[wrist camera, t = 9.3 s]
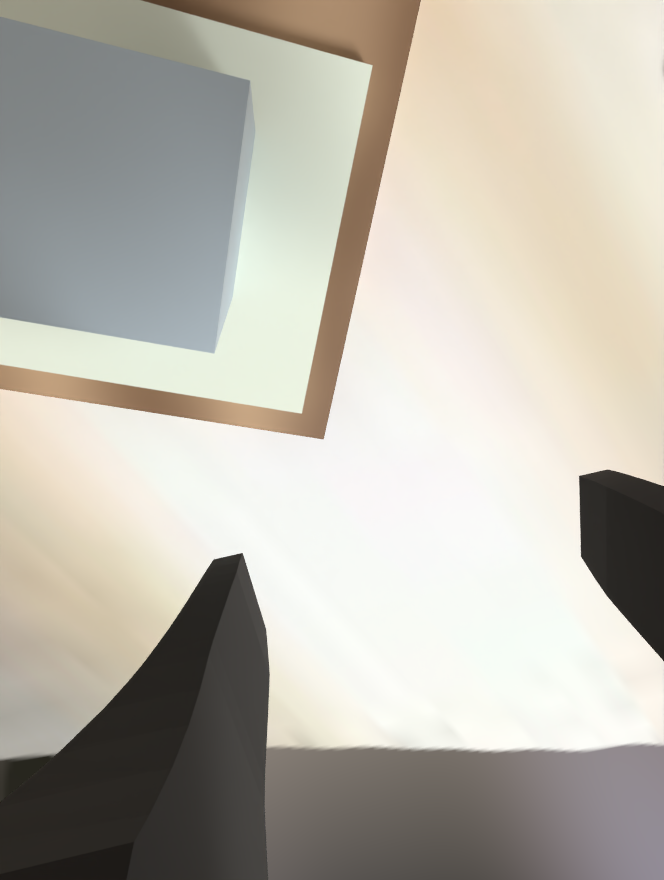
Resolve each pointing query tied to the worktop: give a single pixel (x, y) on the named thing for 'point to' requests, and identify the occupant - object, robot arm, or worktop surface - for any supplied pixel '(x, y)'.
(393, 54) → the pocket board
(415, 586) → the worktop surface
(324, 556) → the worktop surface
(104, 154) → the part block
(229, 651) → the robot arm
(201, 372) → the felt pad
